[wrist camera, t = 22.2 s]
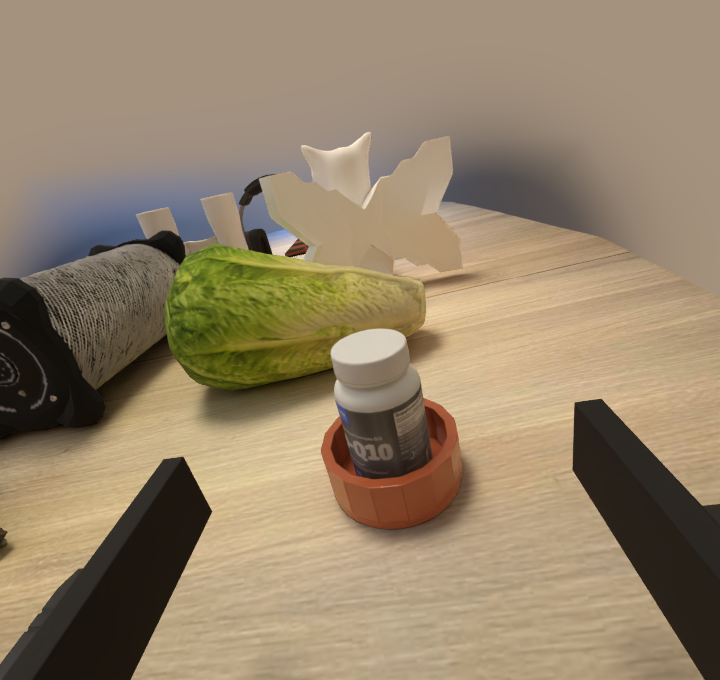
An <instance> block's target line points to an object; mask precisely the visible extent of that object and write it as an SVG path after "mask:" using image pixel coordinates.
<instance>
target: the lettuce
mask: <svg viewBox="0 0 720 680" xmlns="http://www.w3.org/2000/svg"><path fill="white" fill-rule="evenodd" d="M425 315H426V298H425V291H424V286H423V284H422V282H421V280H420V279H415V278H410V277H401V276H394V275H390V274H386V273H382V272H378V271H373V270H368V269H364V268H359V267H354V266H341V265H323V264H318V263H314V262H309V261H305V260H300V259H295V258H291V257H285V256H278V255H271V254H264V253H260V252H255V251H251V250H246V249H242V248H236V247H231V246H225V245H220V244H212V245H210V246H207V247H205V248H203V249H200V250H198V251H196V252H193V253H191V254H189V255H187V256H186V257H185V259H184V260H183V262H182V263H181V265H180V267H179V268H178V270H177V272H176V274H175V277H174V279H173V282H172V284H171V287H170V290H169V292H168V295H167V298H166V301H165V327H166V332H167V338H168V343H169V348H170V349H171V351H172V353H173V354H174V356H175V358H176V359H177V361H178V362H179V363H180V365H181V366H182V367H183V369H184V370H185V371H186V373H187V374H188V375H189V377H191V378H192V379H193V380H195V381H196V382H197V383H199V384H202V385H206V386H211V387H215V388H219V389H223V390H227V391H232V390H238V389H244V388H251V387H256V386H260V385H264V384H268V383H272V382H275V381H281V380H286V379H291V378H296V377H301V376H305V375H308V374H312V373H316V372H320V371H323V370H327V369H331V368H333V363H332V359H331V349H332V347H333V346H334V345H335V344H336V343H337V342H338V341H339V340H341V339H343V338H345V337H347V336H349V335H351V334H354V333H357V332H360V331H364V330H370V329H391V330H395V331H398V332H400V333H402V334H403V335H404V336H405V338H406V337H408V336H410V335H412V334H413V333H414V332H415V331H417V330H418V329H419V328H420V327H422V325H423V324H424V321H425Z"/></svg>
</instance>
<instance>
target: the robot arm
mask: <svg viewBox="0 0 720 680" xmlns="http://www.w3.org/2000/svg"><path fill="white" fill-rule="evenodd" d="M573 471H574V473H575V474H576V476H577V478H578V479H579V481H580V482H581V484H582V486H583V487H584V489H585V490H586V492H587V494H588V495H589V497H590V498H591V500H592V501H593V503H594V505H595V506H596V508H597V509H598V511H599V513H600V514H601V516H602V517H603V519H604V521H605V522H606V524H607V525H608V527H609V528H610V530H611V532H612V533H613V535H614V536H615V538H616V540H617V541H618V543H619V544H620V546H621V548H622V549H623V551H624V552H625V554H626V555H627V557H628V559H629V560H630V562H631V563H632V565H633V567H634V568H635V570H636V571H637V573H638V575H639V576H640V578H641V579H642V581H643V582H644V584H645V586H646V587H647V589H648V590H649V592H650V594H651V595H652V597H653V598H654V600H655V602H656V603H657V605H658V606H659V608H660V610H661V611H662V613H663V614H664V616H665V617H666V619H667V621H668V622H669V624H670V625H671V627H672V629H673V630H674V632H675V633H676V635H677V637H678V638H679V640H680V641H681V643H682V644H683V646H684V648H685V649H686V651H687V652H688V654H689V656H690V657H691V659H692V660H693V662H694V664H695V665H696V667H697V668H698V670H699V671H700V673H701V675H702V676H703V678H704V679H705V680H720V504H717V505H707V506H702V505H701V504H700V503H699V502H698V501H697V500H696V499H695V498H694V497H693V496H692V495H691V494H690V493H689V491H688V490H687V489H686V488H685V487H684V486H683V485H682V484H681V483H680V482H679V481H678V480H677V479H676V478H675V477H674V476H673V474H672V473H671V472H670V471H669V470H668V469H667V468H666V467H665V466H664V465H663V464H662V463H661V462H660V461H659V460H658V459H657V457H656V456H655V455H654V454H653V453H652V452H651V451H650V450H649V449H648V448H647V447H646V446H645V445H644V444H643V443H642V442H641V441H640V439H639V438H638V437H637V436H636V435H635V434H634V433H633V432H632V431H631V430H630V429H629V428H628V427H627V426H626V425H625V424H624V422H623V421H622V420H621V419H620V418H619V417H618V416H617V415H616V414H615V413H614V412H613V411H612V410H611V409H610V408H609V407H608V406H607V404H606V403H605V402H604V401H603V400H602V399H596V400H589V401H582V402H575V407H574V440H573ZM211 513H212V510H211V508H210V507H209V505H208V503H207V501H206V499H205V497H204V495H203V493H202V491H201V489H200V488H199V486H198V484H197V482H196V480H195V478H194V476H193V474H192V472H191V470H190V468H189V467H188V465H187V463H186V461H185V459H184V457H178V458H171V459H164V460H163V461H162V462H161V464H160V465H159V466H158V468H157V469H156V471H155V472H154V473H153V475H152V476H151V477H150V479H149V480H148V481H147V483H146V484H145V485H144V487H143V488H142V490H141V491H140V492H139V494H138V495H137V496H136V498H135V499H134V500H133V502H132V503H131V504H130V506H129V507H128V509H127V510H126V511H125V513H124V514H123V515H122V517H121V518H120V519H119V521H118V522H117V524H116V525H115V526H114V528H113V529H112V530H111V532H110V533H109V534H108V536H107V537H106V538H105V540H104V541H103V543H102V544H101V545H100V547H99V548H98V549H97V551H96V552H95V553H94V555H93V556H92V557H91V559H90V560H89V562H88V563H87V564H86V566H85V567H84V568H83V569H78V570H77V571H76V572H75V573H74V574H73V575H72V576H71V577H69V578H68V579H67V580H66V581H65V582H64V583H63V584H62V585H61V586H60V587H59V588H58V589H57V590H56V592H55V593H54V594H53V596H52V597H51V598H50V600H49V601H48V602H47V603H46V605H45V606H44V607H43V609H42V613H41V614H38V615H37V617H36V618H35V619H34V621H33V622H32V623H31V624H30V626H29V627H28V628H29V629H28V631H27V632H24V634H23V635H22V636H21V638H20V639H19V640H18V642H17V643H16V644H15V645H14V647H13V648H12V649H11V651H10V652H9V653H8V655H7V656H6V657H5V659H4V660H3V661H2V663H1V664H0V680H131V678H132V676H133V673H134V671H135V669H136V667H137V665H138V663H139V661H140V659H141V657H142V655H143V653H144V651H145V649H146V647H147V645H148V643H149V641H150V638H151V636H152V634H153V632H154V630H155V628H156V626H157V624H158V622H159V620H160V618H161V616H162V614H163V612H164V610H165V608H166V606H167V603H168V601H169V599H170V597H171V595H172V593H173V591H174V589H175V587H176V585H177V583H178V581H179V579H180V577H181V575H182V573H183V571H184V569H185V566H186V564H187V562H188V560H189V558H190V556H191V554H192V552H193V550H194V548H195V546H196V544H197V542H198V540H199V538H200V536H201V534H202V531H203V529H204V527H205V525H206V523H207V521H208V519H209V517H210V515H211Z"/></svg>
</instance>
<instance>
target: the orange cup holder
mask: <svg viewBox="0 0 720 680" xmlns="http://www.w3.org/2000/svg"><path fill="white" fill-rule="evenodd" d="M423 401H424V407H425V414H426V421H427V427H428V433H429V439H430V445H431V451H432V458H433V459H432V460H431V461H430V462H429V463H427V464H426V465H425V466H424V467H423V468H420V469H418V470H415V471H413V472H410V473H408V474H406V475H403V476H401V477H394V478H383V479H369V478H365V477H361V476H357V475H356V472H355V469H354V465H353V461H352V458H351V454H350V451H349V448H348V444H347V440H346V437H345V432H344V428H343V425H342V421H341V418H340V417H338V418H337V419H336V421H335V422H334V423H333V424H332V426H331V427H330V428H329V429H328V431H327V432H326V433H325V436H324V440H323V444H322V448H321V454H322V457H323V460H324V463H325V466H326V469H327V472H328V475H329V478H330V481H331V484H332V488H333V491H334V494H335V497H336V499H337V501H338V503H339V505H340V506H341V508H342V509H343V510H344V511H345V512H346V513H347V514H348V515H349V516H350V517H352V518H353V519H354V520H356V521H358V522H360V523H362V524H365V525H367V526H371V527H375V528H381V529H400V528H407V527H411V526H415V525H418V524H421V523H423V522H426V521H428V520H430V519H431V518H433V517H435V516H436V515H438V514H439V513H441V512H442V511H443V510H444V509H445V508H446V507H447V506H448V505H449V504H450V503H451V502H452V501H453V499H454V497H455V496H456V494H457V492H458V490H459V488H460V484H461V480H462V462H461V454H460V446H459V438H458V433H457V428H456V424H455V420H454V418H453V417H452V416H451V415H450V414H449V413H448V412H447V411H446V410H445V409H444V408H443V407H442V406H441V405H439V404H437V403H435V402H432V401H430V400H427V399H425V398H423Z"/></svg>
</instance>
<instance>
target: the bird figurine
mask: <svg viewBox="0 0 720 680" xmlns="http://www.w3.org/2000/svg"><path fill="white" fill-rule="evenodd" d="M6 534H7V531H4V530H3V529H2V528H0V547H2V546H4V545H5V544H6V541H7V540H6V539H5V538H4V537H5V536H6Z"/></svg>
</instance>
